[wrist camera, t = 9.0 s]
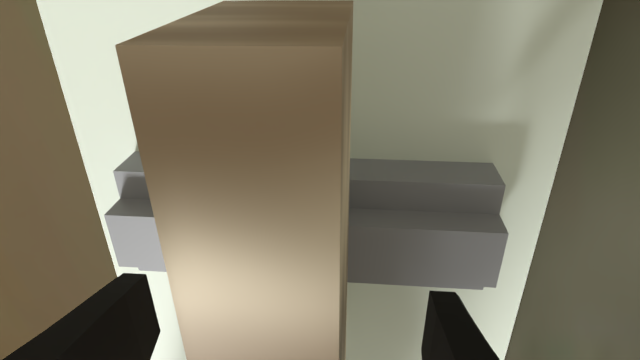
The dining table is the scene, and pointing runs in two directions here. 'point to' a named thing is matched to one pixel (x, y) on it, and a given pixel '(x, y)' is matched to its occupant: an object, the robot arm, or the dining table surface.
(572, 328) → the dining table surface
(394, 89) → the fulcrum stand
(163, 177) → the beech rod
